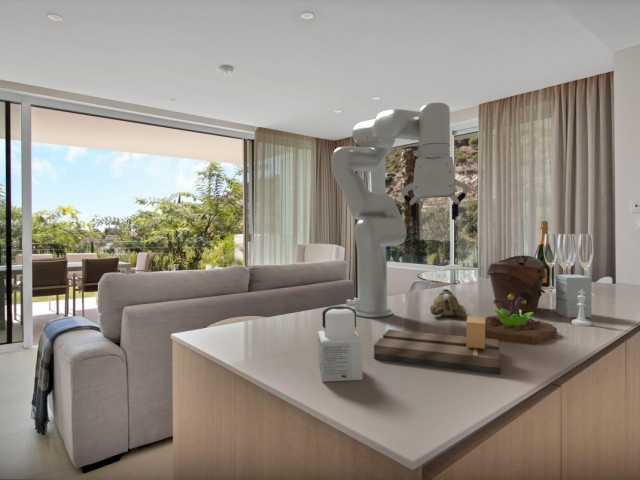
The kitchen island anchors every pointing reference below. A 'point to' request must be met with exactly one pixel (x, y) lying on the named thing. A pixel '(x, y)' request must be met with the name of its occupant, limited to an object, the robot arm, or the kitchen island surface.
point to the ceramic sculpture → (447, 305)
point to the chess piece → (581, 312)
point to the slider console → (438, 351)
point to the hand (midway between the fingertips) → (434, 220)
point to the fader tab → (475, 332)
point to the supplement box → (572, 294)
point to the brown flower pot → (518, 281)
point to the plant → (517, 325)
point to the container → (339, 346)
